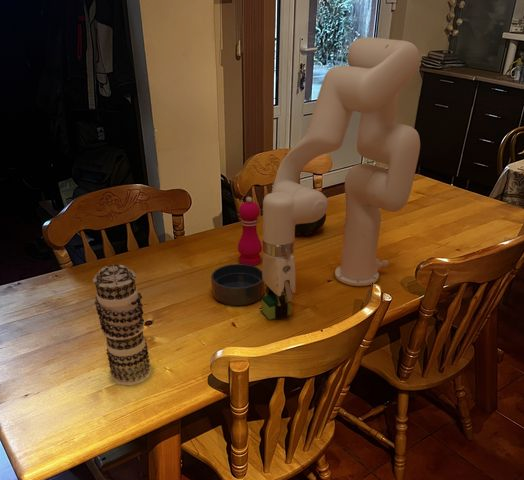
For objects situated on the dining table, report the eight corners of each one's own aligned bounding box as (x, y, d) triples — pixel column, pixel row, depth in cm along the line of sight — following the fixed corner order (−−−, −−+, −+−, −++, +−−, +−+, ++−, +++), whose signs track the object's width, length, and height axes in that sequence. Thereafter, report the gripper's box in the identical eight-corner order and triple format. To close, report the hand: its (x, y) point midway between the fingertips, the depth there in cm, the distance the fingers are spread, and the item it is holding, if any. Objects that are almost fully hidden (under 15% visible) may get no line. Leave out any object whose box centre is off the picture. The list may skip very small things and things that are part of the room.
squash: (272, 222, 173) (304, 189, 166) (276, 208, 186) (306, 176, 179) (303, 251, 177) (336, 220, 170) (305, 235, 190) (336, 205, 183)
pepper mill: (259, 267, 159) (258, 202, 147) (235, 265, 160) (233, 200, 148) (263, 257, 164) (264, 193, 153) (241, 255, 166) (239, 191, 154)
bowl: (251, 277, 153) (251, 260, 150) (272, 300, 143) (273, 281, 140) (204, 287, 149) (203, 269, 145) (223, 311, 138) (222, 292, 135)
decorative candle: (138, 355, 122) (121, 255, 108) (161, 373, 116) (146, 270, 102) (102, 372, 117) (79, 269, 102) (124, 392, 111) (104, 286, 97)
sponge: (283, 306, 139) (283, 291, 137) (291, 314, 136) (291, 299, 134) (261, 311, 137) (261, 296, 135) (269, 319, 134) (269, 304, 131)
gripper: (309, 257, 121) (305, 325, 132) (276, 231, 134) (275, 295, 144) (280, 263, 119) (278, 332, 129) (249, 236, 131) (250, 300, 142)
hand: (276, 311), depth 137 cm, fingers closed on sponge, 4 cm apart
